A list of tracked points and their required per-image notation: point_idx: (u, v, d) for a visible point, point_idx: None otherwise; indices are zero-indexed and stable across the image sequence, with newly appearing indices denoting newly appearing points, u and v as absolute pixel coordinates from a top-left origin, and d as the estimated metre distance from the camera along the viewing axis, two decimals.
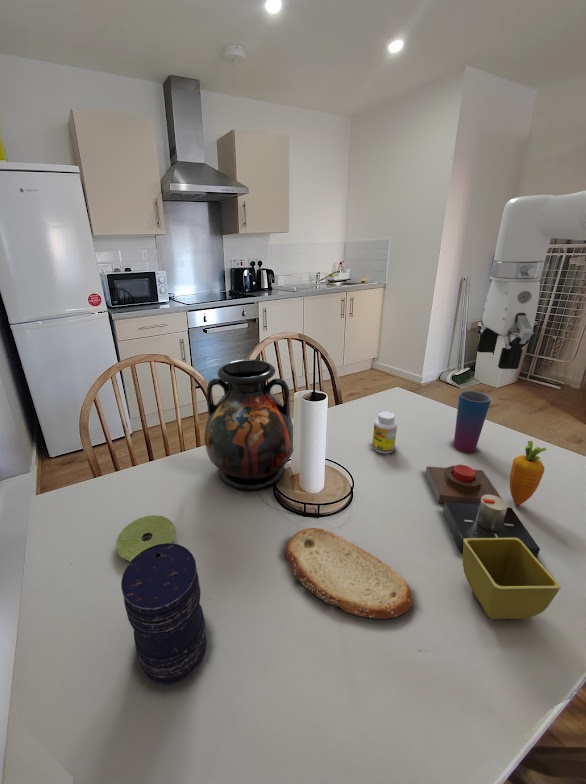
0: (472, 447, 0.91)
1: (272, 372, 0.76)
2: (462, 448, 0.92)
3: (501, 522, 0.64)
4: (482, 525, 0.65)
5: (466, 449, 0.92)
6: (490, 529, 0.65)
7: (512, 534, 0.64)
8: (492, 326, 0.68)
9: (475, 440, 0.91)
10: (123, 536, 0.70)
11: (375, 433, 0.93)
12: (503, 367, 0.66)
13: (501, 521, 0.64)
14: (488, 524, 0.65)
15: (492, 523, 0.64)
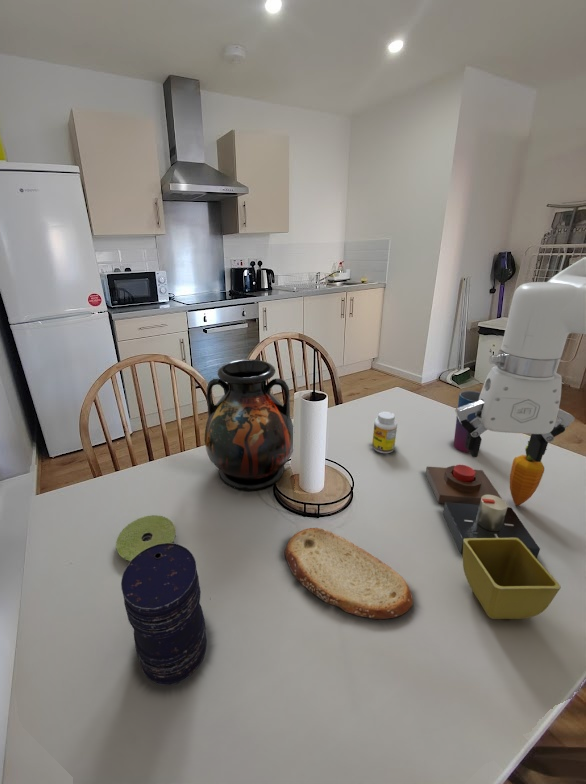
0: None
1: (272, 372, 0.76)
2: (462, 448, 0.92)
3: (501, 522, 0.64)
4: (482, 525, 0.65)
5: (466, 449, 0.92)
6: (490, 529, 0.65)
7: (512, 534, 0.64)
8: None
9: None
10: (123, 536, 0.70)
11: (375, 433, 0.93)
12: None
13: (501, 521, 0.64)
14: (488, 524, 0.65)
15: (492, 523, 0.64)
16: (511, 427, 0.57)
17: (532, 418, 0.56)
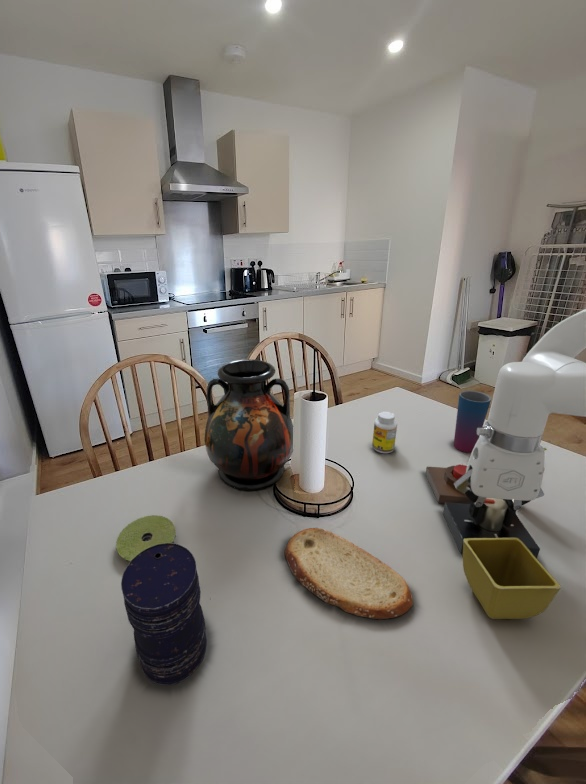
0: (472, 447, 0.91)
1: (272, 372, 0.76)
2: (462, 448, 0.92)
3: (501, 522, 0.64)
4: (482, 525, 0.65)
5: (466, 449, 0.92)
6: (490, 529, 0.65)
7: (512, 534, 0.64)
8: None
9: (475, 440, 0.91)
10: (123, 536, 0.70)
11: (375, 433, 0.93)
12: None
13: (501, 521, 0.64)
14: (488, 524, 0.65)
15: (492, 523, 0.64)
16: (498, 494, 0.61)
17: (518, 487, 0.60)
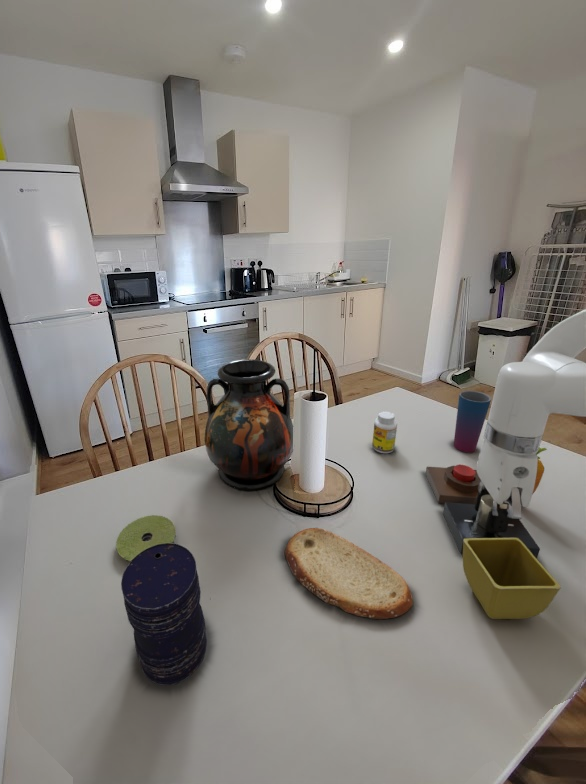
0: (472, 447, 0.91)
1: (272, 372, 0.76)
2: (462, 448, 0.92)
3: None
4: None
5: (466, 449, 0.92)
6: None
7: (512, 534, 0.64)
8: (486, 485, 0.63)
9: (475, 440, 0.91)
10: (123, 536, 0.70)
11: (375, 433, 0.93)
12: (490, 529, 0.64)
13: None
14: None
15: None
16: None
17: None
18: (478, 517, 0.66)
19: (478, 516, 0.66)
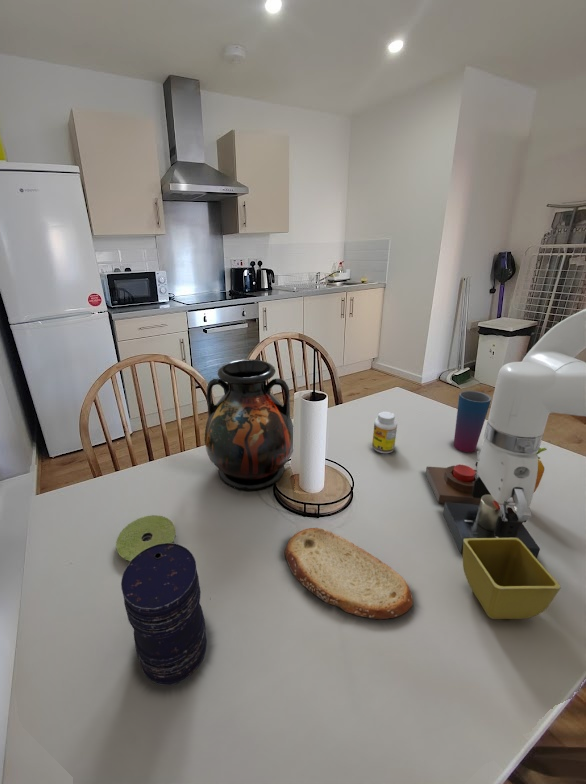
0: (472, 447, 0.91)
1: (272, 372, 0.76)
2: (462, 448, 0.92)
3: None
4: None
5: (466, 449, 0.92)
6: None
7: None
8: (487, 486, 0.63)
9: (475, 440, 0.91)
10: (123, 536, 0.70)
11: (375, 433, 0.93)
12: (499, 535, 0.61)
13: None
14: None
15: None
16: None
17: None
18: (478, 517, 0.66)
19: (478, 516, 0.66)
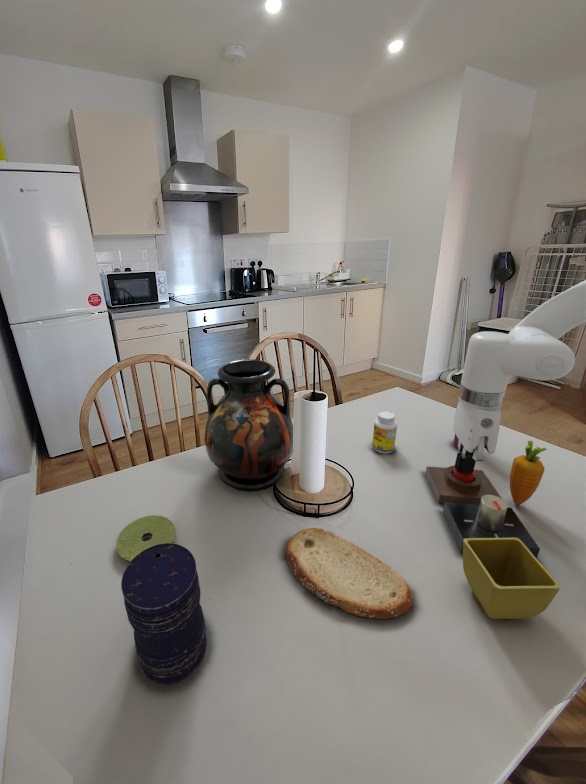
0: None
1: (272, 372, 0.76)
2: None
3: None
4: (500, 528, 0.65)
5: None
6: None
7: (512, 534, 0.64)
8: (460, 439, 0.74)
9: None
10: (123, 536, 0.70)
11: (375, 433, 0.93)
12: (460, 471, 0.77)
13: None
14: None
15: None
16: None
17: None
18: (478, 517, 0.66)
19: (478, 516, 0.66)
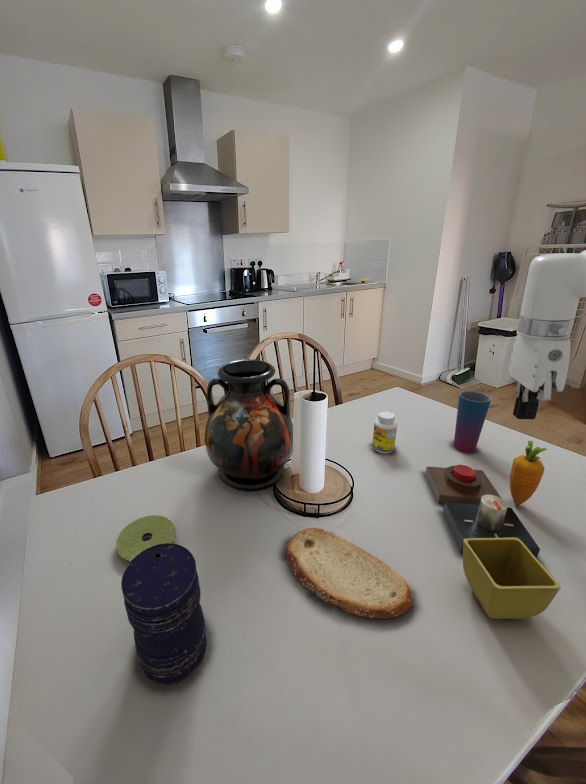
0: (472, 447, 0.91)
1: (272, 372, 0.76)
2: (462, 448, 0.92)
3: None
4: (500, 528, 0.65)
5: (466, 449, 0.92)
6: None
7: (512, 534, 0.64)
8: (520, 380, 0.67)
9: (475, 440, 0.91)
10: (123, 536, 0.70)
11: (375, 433, 0.93)
12: (521, 417, 0.70)
13: None
14: None
15: None
16: None
17: None
18: (478, 517, 0.66)
19: (478, 516, 0.66)
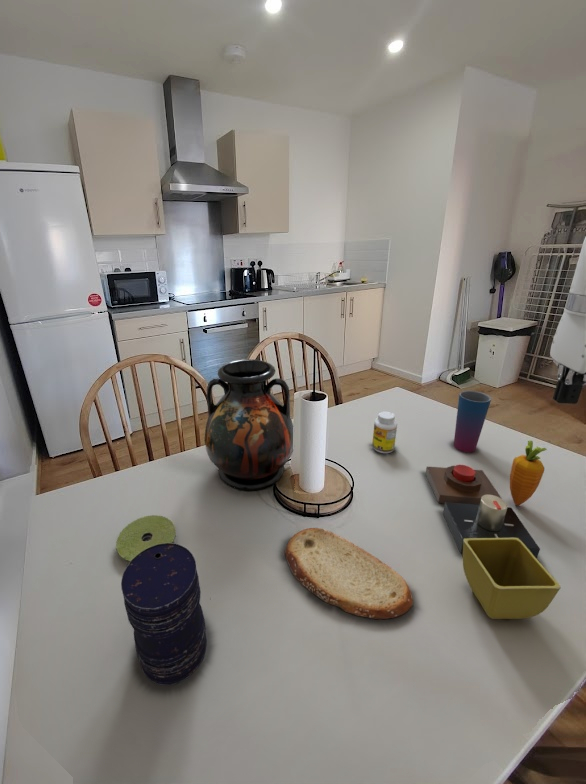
0: (472, 447, 0.91)
1: (272, 372, 0.76)
2: (462, 448, 0.92)
3: None
4: (500, 528, 0.65)
5: (466, 449, 0.92)
6: None
7: (512, 534, 0.64)
8: (565, 361, 0.64)
9: (475, 440, 0.91)
10: (123, 536, 0.70)
11: (375, 433, 0.93)
12: (562, 401, 0.67)
13: None
14: None
15: None
16: None
17: None
18: (478, 517, 0.66)
19: (478, 516, 0.66)
